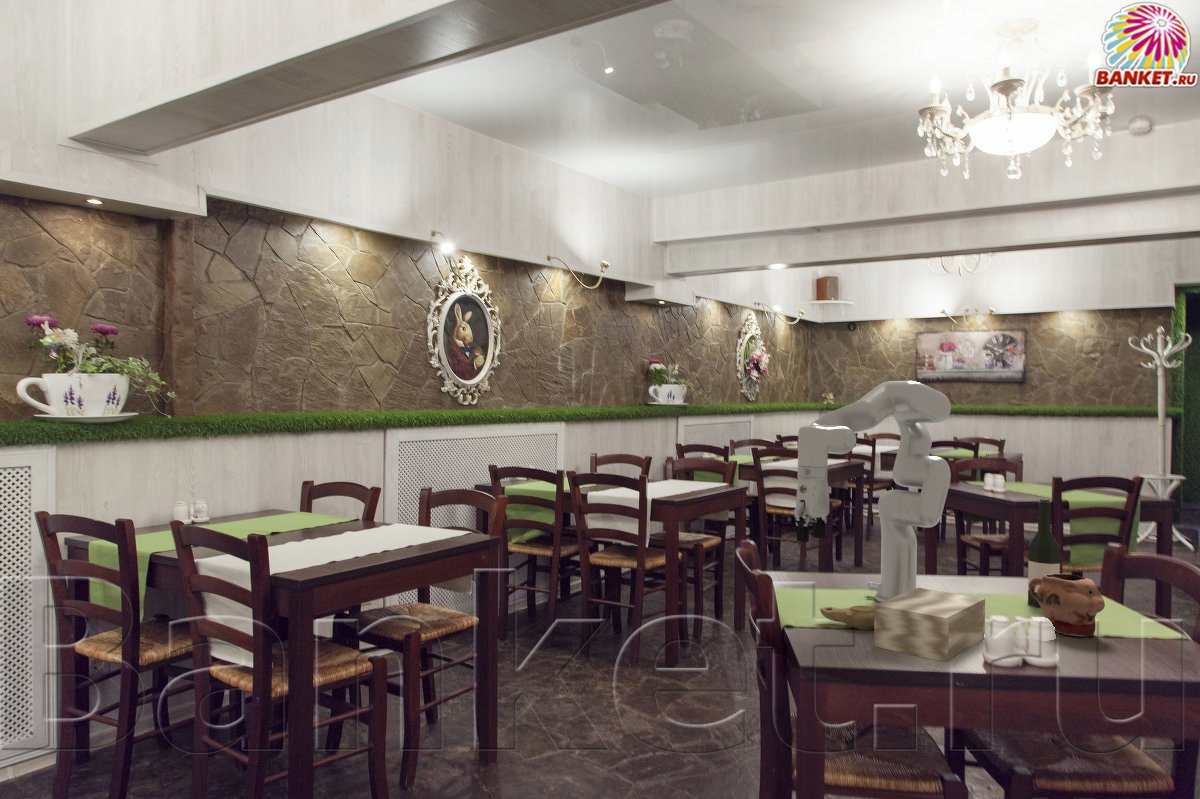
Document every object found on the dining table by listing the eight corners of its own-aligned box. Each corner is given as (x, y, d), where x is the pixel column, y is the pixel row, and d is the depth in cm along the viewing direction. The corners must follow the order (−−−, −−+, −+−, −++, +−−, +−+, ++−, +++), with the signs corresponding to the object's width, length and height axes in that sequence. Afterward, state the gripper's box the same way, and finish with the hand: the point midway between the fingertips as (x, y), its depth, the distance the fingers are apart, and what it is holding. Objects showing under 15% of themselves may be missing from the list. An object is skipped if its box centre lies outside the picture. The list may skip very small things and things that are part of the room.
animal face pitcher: (1011, 623, 207) (1012, 569, 207) (1041, 618, 212) (1041, 566, 213) (1089, 644, 189) (1090, 585, 189) (1119, 638, 195) (1120, 581, 195)
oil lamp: (817, 621, 206) (818, 602, 206) (870, 620, 208) (870, 601, 208) (835, 633, 195) (836, 612, 195) (891, 632, 197) (891, 611, 197)
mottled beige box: (874, 646, 184) (874, 604, 184) (917, 625, 204) (918, 587, 204) (945, 662, 174) (946, 618, 174) (984, 638, 193) (985, 598, 193)
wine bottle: (1052, 602, 231) (1053, 498, 231) (1065, 609, 223) (1067, 501, 223) (1021, 601, 232) (1023, 497, 232) (1034, 608, 224) (1035, 500, 224)
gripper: (809, 475, 201) (808, 545, 201) (841, 472, 214) (839, 538, 214) (782, 473, 206) (781, 541, 206) (815, 470, 219) (814, 534, 219)
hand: (811, 539), depth 210 cm, fingers open, 8 cm apart
